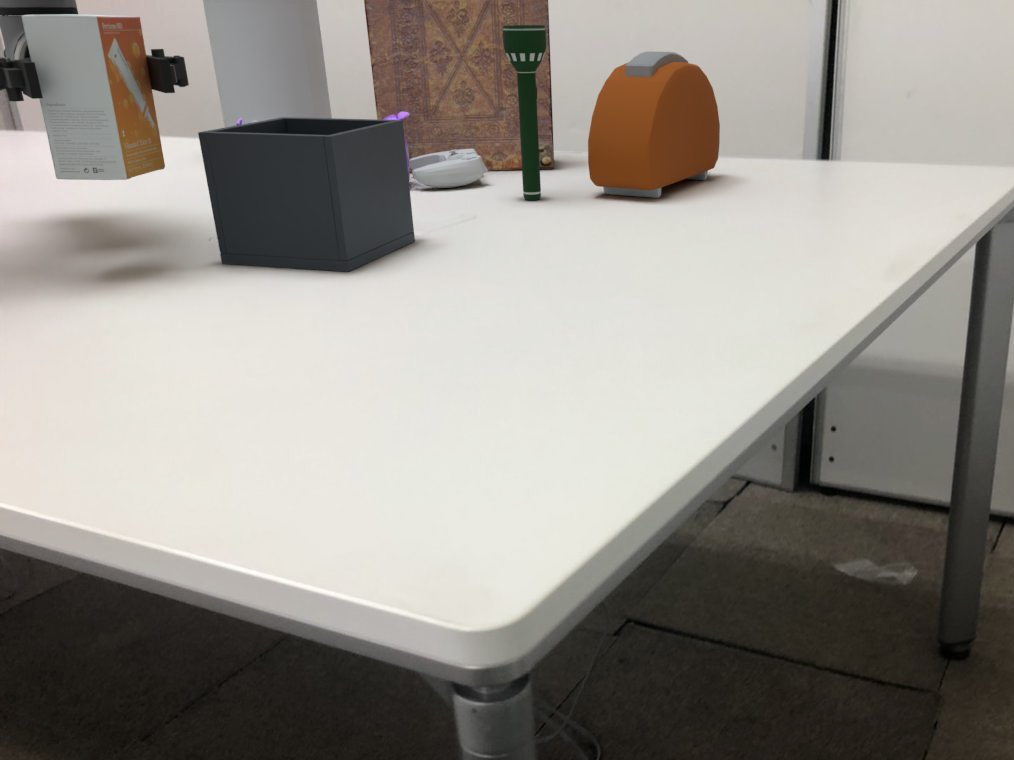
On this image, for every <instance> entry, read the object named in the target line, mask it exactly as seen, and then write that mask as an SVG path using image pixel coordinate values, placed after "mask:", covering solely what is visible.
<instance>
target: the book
mask: <svg viewBox="0 0 1014 760" xmlns="http://www.w3.org/2000/svg"><path fill="white" fill-rule="evenodd" d="M363 3H364V13H365V14H364V15H365V20H366V31H367V40H368V48H369V57H370V58H369V59H370V67H371V75H372V83H373V84H372V86H373V94H374V103H375V111H376V120H383V119H384V118H386V117H388V116H389V115H396V116H397V115H398V113H400V112H408V113H409V116H408V117H405V118H403V119H402V121H403V123H404V135H405V139H406V142H407V146H408V152H409V160H410V159H412V158H415V157H418V156H422V155H426V154H431V153H437V152H444V151H451V150H454V149H457V150H460V149H475V151H476V153H477V154H478V156H479V155H480V156H481V160H482V161H483V163H484V164H485V166H486V168H487V169H488V171H513V170H514V171H515V170H518V171H519V170H521V171H522V159H521V140H520V121H519V102H518V83H517V71H516V70H515V68H514V67H513V65H512V64H511V63H510V61H509V60H508V58H507V55H506V53H505V50H504V46H503V26H513V25H543V26H545V30H546V50H545V54H544V57H543V60H542V61H541V63H540V65H539V66H538V68H537V70H536V71H535V74H536V87H537V118H538V140H539V162H540V170H551V169H554V168H555V152H554V151H555V148H554V146H555V145H554V121H553V94H552V91H553V90H552V67H551V66H552V65H551V64H552V63H551V42H550V41H551V39H550V13H549V12H550V11H549V10H550V9H549V0H363ZM409 173H412V169H411V168H410V169H409Z"/></svg>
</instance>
